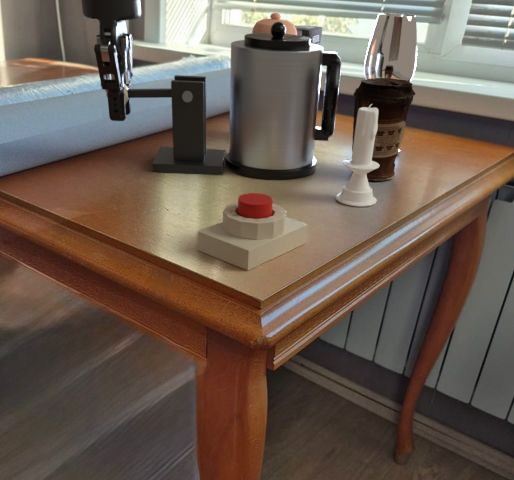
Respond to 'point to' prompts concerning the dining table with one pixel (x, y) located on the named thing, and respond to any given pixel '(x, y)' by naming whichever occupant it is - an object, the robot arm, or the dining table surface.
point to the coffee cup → (385, 119)
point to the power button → (255, 206)
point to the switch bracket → (189, 132)
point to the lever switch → (145, 93)
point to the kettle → (279, 104)
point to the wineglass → (392, 48)
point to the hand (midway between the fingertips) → (120, 116)
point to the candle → (361, 160)
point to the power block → (251, 237)
